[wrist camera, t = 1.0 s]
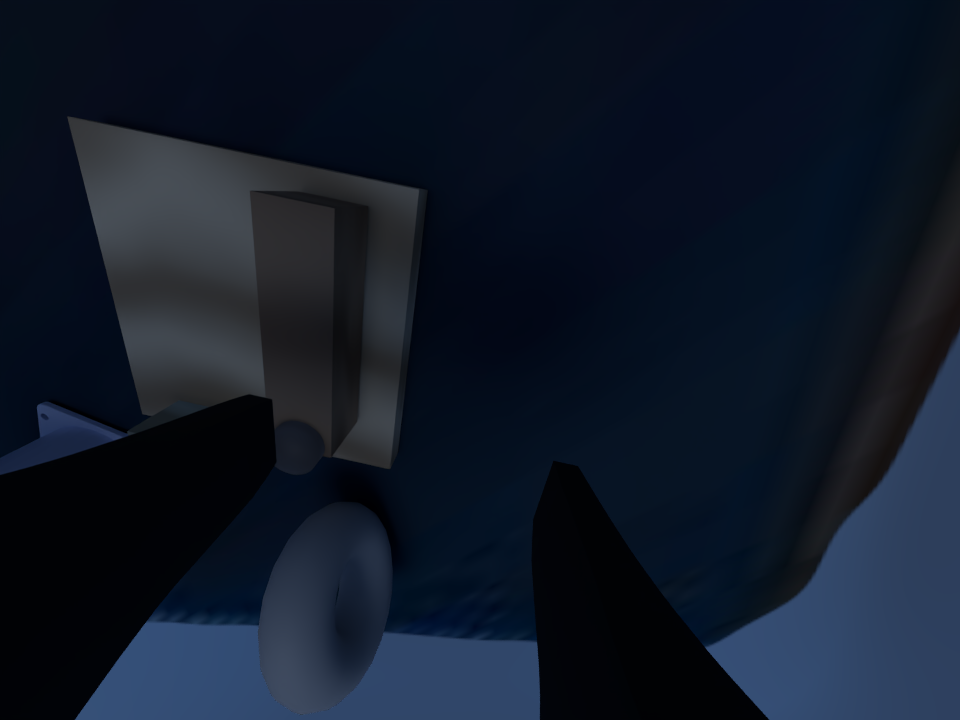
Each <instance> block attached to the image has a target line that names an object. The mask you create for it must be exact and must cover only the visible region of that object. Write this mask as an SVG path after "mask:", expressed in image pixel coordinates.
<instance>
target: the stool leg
mask: <svg viewBox="0 0 960 720" xmlns="http://www.w3.org/2000/svg"><path fill="white" fill-rule="evenodd" d="M250 201H251V214H252V227H253V240H254V253H255V266H256V279H257V292H258V305H259V318H260V331H261V344H262V357H263V370H264V383H265V396H266V398H269V399H272V402H273V416H274V430H275V444H276V459H277V462H276V464H275V467H277V468H278V469H280V470H281V471H284V472H286V473H289V474H294V475H301V474H306V473H308V472H310V471H311V470H312V469H313V468H314V467H315V465H316V464H317V463H318V461H319V460H320V459H321V457H322V456H325V457H330V458H331V457H332V456H333V454H334V453H335V452H336V450H337V449H338V448H339V446H340V445H341V443H342V442H343V441H344V439H345V438H346V437H347V435H348V434H349V432H350V431H351V430H352V428H353V427H354V426H355V424H356V423H357V418H358V398H359V379H360V359H361V339H362V320H363V300H364V280H365V261H366V241H367V222H368V206H366V205H361V204H356V203H352V202H347V201H342V200H337V199H333V198H328V197H323V196H318V195H314V194H309V193H304V192H299V191H250Z"/></svg>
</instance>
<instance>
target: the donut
mask: <svg viewBox="0 0 960 720" xmlns="http://www.w3.org/2000/svg"><path fill="white" fill-rule="evenodd" d="M392 574H393V568H392V557H391V547H390V543H389V540H388V536H387V532H386V530H385V528H384V526H383V524H382V523H381V521H380V519H379V518H378V516H377V515H376V513H374V512H373V511H371V510H370V509H368V508H367V507H366V506H364V505H362V504H361V503H358V502H336V503H332V504H329V505H327V506H326V507H324V508H322V509H321V510H319V511H317V512H315V513H314V514H312V515H311V516H309V517H308V518H307V519H306V520H305V521H304V522H303V523H302V524H301V526H300V527H299V528H298V529H297V530H296V531H295V532H294V533H293V535H292V536H291V537H290V539H289V540H288V542H287V544H286V545H285V547H284V549H283V551H282V553H281V554H280V556H279V558H278V560H277V562H276V564H275V565H274V567H273V570H272V573H271V576H270V579H269V582H268V585H267V588H266V591H265V594H264V597H263V602H262V609H261V615H260V622H259V629H258V639H259V654H260V667H261V672H262V674H263V677H264V679H265V682H266V684H267V686H268V689H269V691H270V694H271V695H272V696H273V698H274V699H275V700H276V701H277V702H279V703H280V704H281V705H283V706H285V707H286V708H287V709H289V710H290V711H292V712H294V713H297V714H300V715H303V714H309V713H315V712H319V711H325V710H329V709H330V708H332V707H334V706H335V705H337V704H338V703H339V702H341V701H342V700H343V699H344V698H345V697H346V696H347V695H348V694H350V692H352V691H353V690H354V689H355V687H356V686H357V685H358V684H359V682H360V681H361V679H362V678H363V676H364V674H365V673H366V671H367V670H368V668H369V667H370V665H371V663H372V661H373V659H374V656H375V654H376V651H377V649H378V646H379V644H380V641H381V639H382V636H383V632H384V628H385V624H386V621H387V617H388V613H389V607H390V600H391V593H392ZM339 581H340V586H339V594H338V598H337V603H336V607H335V602H336V594H337V590H338V585H339Z"/></svg>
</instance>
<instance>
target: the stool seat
mask: <svg viewBox="0 0 960 720" xmlns="http://www.w3.org/2000/svg"><path fill="white" fill-rule="evenodd" d="M67 117H68V116H67ZM68 121H69V124H70V128H71V132H72V136H73V140H74V144H75V148H76V152H77V156H78V160H79V164H80V168H81V172H82V176H83V180H84V184H85V188H86V192H87V196H88V200H89V204H90V208H91V212H92V216H93V220H94V224H95V228H96V232H97V236H98V240H99V244H100V247H101V251H102V255H103V259H104V263H105V267H106V271H107V275H108V279H109V283H110V287H111V291H112V295H113V299H114V303H115V307H116V311H117V315H118V319H119V323H120V327H121V331H122V335H123V339H124V343H125V347H126V351H127V355H128V359H129V363H130V367H131V370H132V374H133V378H134V382H135V386H136V390H137V394H138V398H139V402H140V406H141V410H142V414H145V415H149V416H152V417H150V418H148V419H147V420H145V421H143V422H142V423H140V424H138V425H137V426H135V427H133V428H132V429H130V430H128V431H127V433H128V436H129V435H132V434H135V433H138V432H141V431H144V430H147V429H149V428H152V427H155V426H158V425H161V424H163V423H166V422H169V421H172V420H175V419H177V418H180V417H183V416H186V415H189V414H191V413H194V412H197V411H200V410H202V409H205V408H208V407H211V406H214V405H216V404H219V403H222V402H225V401H228V400H231V399H234V398H237V397H241V396H244V395H248V394H251V395H256V396H260V397H265V398H266V396H265V383H264V370H263V357H262V344H261V331H260V318H259V305H258V292H257V279H256V266H255V253H254V240H253V227H252V214H251V201H250V191H299V192H304V193H309V194H314V195H318V196H323V197H328V198H333V199H337V200H342V201H347V202H352V203H356V204H361V205H366V206H368V222H367V241H366V261H365V280H364V300H363V320H362V339H361V359H360V379H359V398H358V418H357V423H356V424H355V426H354V427H353V428H352V430H351V431H350V432H349V434H348V435H347V437H346V438H345V439H344V441H343V442H342V443H341V445H340V446H339V448H338V449H337V450H336V452H335V453H334V454H333V457H337V458H342V459H346V460H351V461H355V462H360V463H364V464H369V465H373V466H378V467H382V468H387V469H390V468H391V466H392V464H393V462H394V460H395V458H396V456H397V454H398V448H399V439H400V430H401V421H402V412H403V404H404V395H405V386H406V377H407V368H408V360H409V351H410V342H411V333H412V324H413V316H414V307H415V298H416V289H417V280H418V272H419V263H420V254H421V245H422V237H423V228H424V219H425V210H426V201H427V193H428V190H425V189H420V188H415V187H410V186H406V185H401V184H396V183H391V182H386V181H382V180H377V179H372V178H367V177H362V176H358V175H353V174H348V173H343V172H338V171H334V170H329V169H324V168H319V167H314V166H310V165H305V164H300V163H295V162H290V161H285V160H281V159H276V158H271V157H266V156H261V155H257V154H252V153H247V152H242V151H237V150H233V149H228V148H223V147H218V146H213V145H209V144H204V143H199V142H194V141H189V140H185V139H180V138H175V137H170V136H165V135H161V134H156V133H151V132H146V131H141V130H137V129H132V128H127V127H122V126H117V125H113V124H108V123H102V122H97V121H91V120H85V119H79V118H73V117H68Z"/></svg>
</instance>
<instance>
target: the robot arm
mask: <svg viewBox="0 0 960 720" xmlns="http://www.w3.org/2000/svg"><path fill="white" fill-rule="evenodd" d="M37 412H38V421H39V429H40V438H39V439H37V440H35V441H33V442H31V443H29V444H27V445H25V446H23V447H21V448H19V449H17V450H15V451H13V452H11V453H9V454H7V455H5V456H3V457H1V458H0V720H75V719H76V717H77V716H78V714H79V713H80V712H81V710H82V709H83V707H84V706H85V705H86V703H87V702H88V700H89V699H90V698H91V696H92V695H93V693H94V692H95V691H96V689H97V688H98V686H99V685H100V684H101V682H102V681H103V680H104V678H105V677H106V675H107V674H108V673H109V671H110V670H111V668H112V667H113V666H114V664H115V663H116V661H117V660H118V659H119V657H120V656H121V655H122V653H123V652H124V651H125V649H126V648H127V647H128V645H129V644H130V643H131V641H132V640H133V639H134V637H135V636H136V635H137V633H138V632H139V631H140V629H141V628H142V626H143V625H144V624H145V623H146V621H147V620H148V619H149V617H150V616H151V615H152V613H153V612H154V611H155V609H156V608H157V607H158V606H159V604H160V603H161V602H162V601H163V599H164V598H165V597H166V596H167V595H168V593H169V592H170V591H171V590H172V589H173V587H174V586H175V585H176V584H177V583H178V582H179V580H180V579H181V578H182V577H183V576H184V575H185V574H186V573H187V571H188V570H189V569H190V568H191V567H192V566H193V565H194V564H195V562H196V561H197V560H198V559H199V558H200V557H201V556H202V555H203V553H204V552H205V551H206V550H207V549H208V548H209V547H210V546H211V544H212V543H213V542H214V541H215V540H216V539H217V538H218V537H219V535H220V534H221V533H222V532H223V531H224V530H225V529H226V528H227V526H228V525H229V524H230V523H231V522H232V521H233V520H234V518H235V517H236V516H237V515H238V514H239V513H240V512H241V510H242V509H243V508H244V507H245V506H246V505H247V503H248V502H249V501H250V500H251V499H252V498H253V496H254V495H255V493H256V492H257V491H258V489H259V488H260V486H261V485H262V484H263V482H264V481H265V479H266V478H267V476H268V475H269V473H270V472H271V470H272V469H273V467H274V466H275V464H276V462H277V459H276V444H275V430H274V416H273V402H272V399H269V398H265V397H260V396H256V395H251V394H248V395H244V396H241V397H237V398H234V399H231V400H228V401H225V402H222V403H219V404H216V405H214V406H211V407H208V408H205V409H202V410H200V411H197V412H194V413H191V414H189V415H186V416H183V417H180V418H177V419H175V420H172V421H169V422H166V423H163V424H161V425H158V426H155V427H152V428H149V429H147V430H144V431H141V432H138V433H135V434H132V435H129V436H128V434H126V433H124V432H121V431H119V430H116V429H114V428H112V427H109V426H107V425H104V424H102V423H99V422H97V421H94V420H92V419H90V418H87V417H85V416H82V415H80V414H77V413H75V412H72V411H70V410H68V409H65V408H63V407H60V406H58V405H55V404H53V403H50V402H43V403H41V404H39V405H38V406H37ZM532 575H533V590H534V604H535V618H536V631H537V645H538V659H539V677H540V720H769V719H768V718H767V717H766V716H765V715H764V714H763V712H762V711H761V710H760V709H759V708H758V707H757V706H756V705H755V704H754V703H753V701H752V700H751V699H750V698H749V697H748V696H747V695H746V694H745V693H744V692H743V690H742V689H741V688H740V687H739V686H738V685H737V684H736V683H735V682H734V681H733V679H732V678H731V677H730V676H729V675H728V674H727V673H726V672H725V670H724V669H723V668H722V667H721V666H720V665H719V664H718V662H717V661H716V660H715V659H714V658H713V657H712V655H711V654H710V653H709V652H708V651H707V649H706V648H705V647H704V646H703V645H702V643H701V642H700V641H699V640H698V638H697V637H696V636H695V635H694V634H693V632H692V631H691V630H690V629H689V627H688V626H687V625H686V624H685V623H684V621H683V620H682V619H681V618H680V616H679V615H678V614H677V613H676V612H675V610H674V609H673V608H672V606H671V605H670V604H669V602H668V601H667V600H666V599H665V597H664V596H663V595H662V593H661V592H660V591H659V589H658V588H657V587H656V585H655V584H654V582H653V581H652V580H651V578H650V577H649V576H648V574H647V573H646V571H645V570H644V569H643V567H642V566H641V565H640V563H639V562H638V560H637V559H636V557H635V556H634V554H633V553H632V552H631V550H630V549H629V547H628V546H627V544H626V543H625V541H624V539H623V538H622V536H621V535H620V533H619V532H618V530H617V529H616V527H615V526H614V524H613V523H612V521H611V519H610V518H609V516H608V515H607V513H606V511H605V510H604V508H603V507H602V505H601V503H600V502H599V500H598V498H597V497H596V495H595V494H594V492H593V490H592V489H591V487H590V485H589V484H588V482H587V480H586V479H585V477H584V475H583V474H582V472H581V470H580V469H579V467H578V466H574V465H570V464H565V463H561V462H556V461H553V464H552V467H551V470H550V473H549V476H548V478H547V481H546V484H545V487H544V490H543V493H542V496H541V499H540V501H539V504H538V507H537V510H536V513H535V516H534V519H533V536H532Z"/></svg>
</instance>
